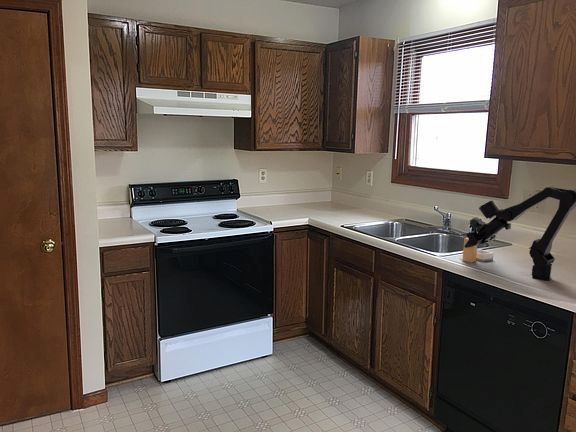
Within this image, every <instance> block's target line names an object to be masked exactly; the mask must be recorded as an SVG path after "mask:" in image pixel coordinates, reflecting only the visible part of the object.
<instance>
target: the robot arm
mask: <svg viewBox="0 0 576 432" xmlns="http://www.w3.org/2000/svg"><path fill="white" fill-rule="evenodd" d="M549 198H552V199H555V200H556V201H557V200H558V201H559V202H558V207H557V211H556V212H555V213H554V216H553V218H552V219H551V221H550V222H549V224H548V226H547V227H546V229H545V231H544V233H543V235H542V236H541V238H538V239H534V240H533V241H532V243H531V246H530V247H528V249H529V251H528V252H529V253H528V254H529V255H530V256H529V257H530V258H532V262H533V265H532V268H531V278H532V279H535V280H536V279H537V280H542V281H543V280H544V281H549V282H550V280H551V278H552V276H551V274H552V266H553V264H554V262H555V261H556V258H555V257H554V256H553V254H552V253H551V251H552V247H553V242H554V240H555V238H556V236H557V234H558V233H559V232H560V230H561V228H562V226H563V225H564V223H565V221H566V220H567V218H568V216H569V214H570V213H571V212H572V211H573V210H574V209H575V208H576V188H571V189H565V188H559V187H554V186H547V187H545V188H543V189H542V190H541V191H538V192H537V193H536V194H534V195H532V196H530V197H528V198H527V199H525V200H523V201H521V202H520V203H518V204H515V205H512V206H509V207H507V208H501V209H499V208H498V206H497V205H496V204H495V202H494V200H489V201H488V202H486V203H484V204H482V205H480V207H478V210H479V211H480V213H481V214H482V215H483V217H485V219H486V220H487V219H489V220H490V221H489V222H487V223H486V222H485V221H483V220H482V219H480V218H479V217H477V216H476V217H472V218H471V219H470V220H469V225H470V226H472V227H473V228H474V229H475V231H473V230H472V231H469V232H467V233H466V234H465V236H466V238H468V239H469V240H468V242H467V243H466V245H465V248H468V247H472V246H476V245H477V246H480V245H482V244H485V243H488V242H493V241H494V240H495V239H496V238H497V237H496V235H498V234H499V232H500V231H502V230H503V229H505V230H506V231H508V230H511V228H512V227H511V226H512V223H511V222H513V221H517V220H518V219H520V218H521V217H522V216H523V215H524V214H525V213H526V212H527V211H528V210H530V209H532V208H533V207H535V206H537V205H539V204H541V203H542V202H545V201H546V200H548V199H549Z"/></svg>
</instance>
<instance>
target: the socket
mask: <svg viewBox="0 0 576 432" xmlns="http://www.w3.org/2000/svg"><path fill="white" fill-rule="evenodd" d="M493 260H494V252H492V251H487V250H484V249H477V255H476V261H478V262H483V263H484V262H490V261H493Z"/></svg>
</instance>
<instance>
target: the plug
mask: <svg viewBox="0 0 576 432" xmlns="http://www.w3.org/2000/svg"><path fill="white" fill-rule="evenodd" d="M463 240H464V242H463V250H462V261H463V262H468V263H474V262H477V260H476V255H477V250H478V245H476V246H472V247H468V248H465V245H466V243H467V242H468V240H469V239H468V237H466V238H464V239H463Z"/></svg>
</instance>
